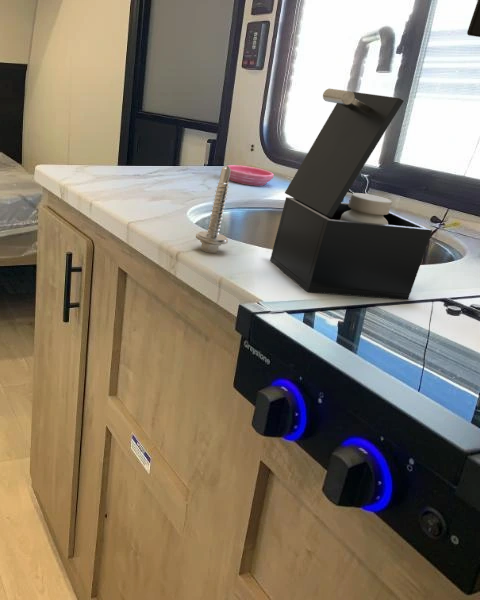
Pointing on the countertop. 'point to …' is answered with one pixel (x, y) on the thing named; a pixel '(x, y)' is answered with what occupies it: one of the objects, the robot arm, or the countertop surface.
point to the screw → (216, 217)
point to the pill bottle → (367, 209)
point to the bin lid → (342, 148)
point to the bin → (348, 252)
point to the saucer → (249, 175)
